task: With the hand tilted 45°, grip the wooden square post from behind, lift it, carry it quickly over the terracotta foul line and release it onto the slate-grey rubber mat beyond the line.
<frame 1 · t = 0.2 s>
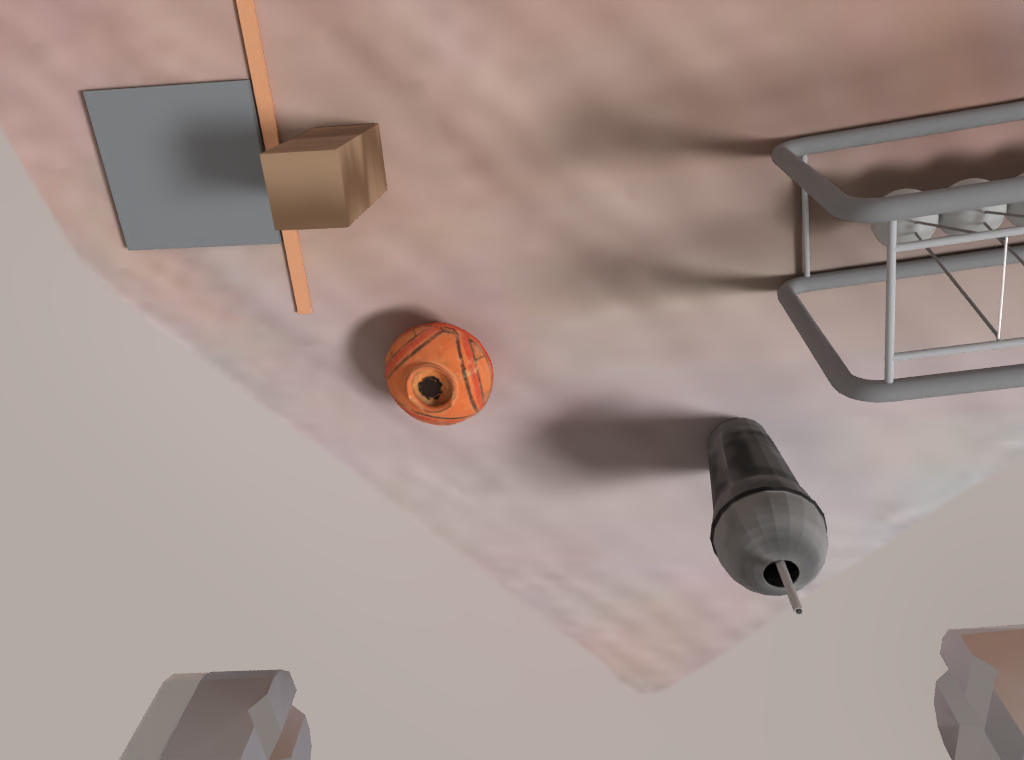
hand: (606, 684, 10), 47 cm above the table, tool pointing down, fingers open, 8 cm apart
newton's cradle: (1004, 183, 52), on the table
pot: (447, 355, 60), on the table
foul line: (277, 163, 55), on the table
beverage cup: (737, 442, 61), on the table
mat: (187, 168, 56), on the table
wooden square post: (351, 158, 54), on the table
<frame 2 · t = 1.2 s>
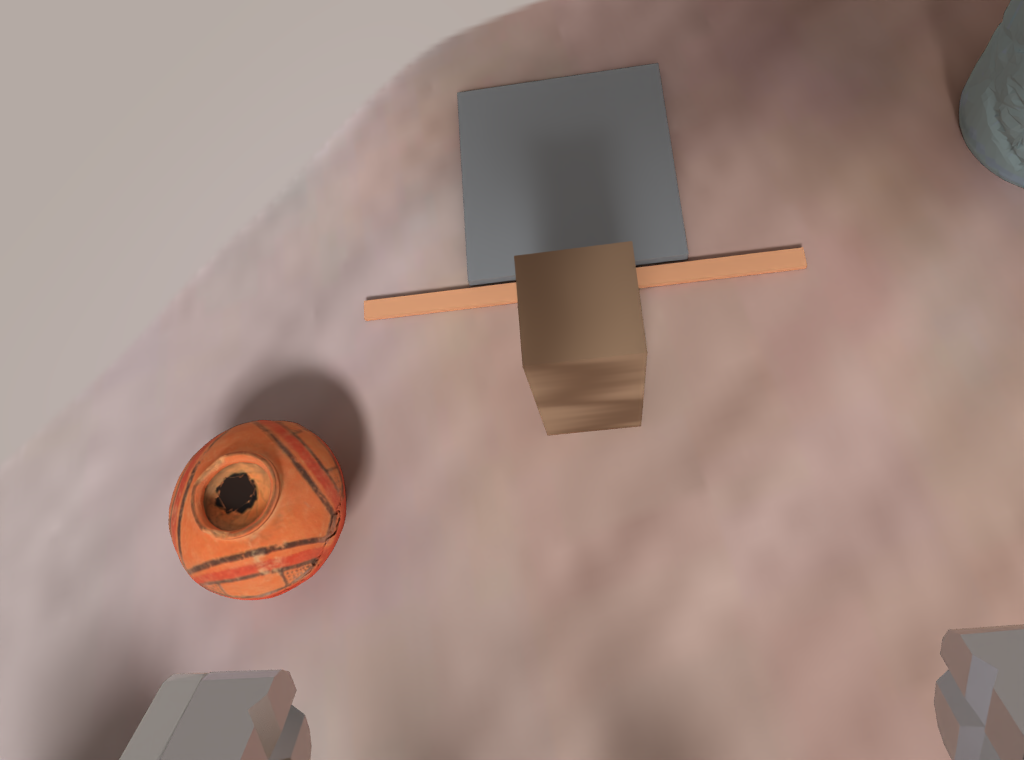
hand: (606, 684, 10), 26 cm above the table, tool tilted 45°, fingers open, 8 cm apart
pot: (289, 519, 38), on the table
foul line: (578, 286, 40), on the table
mat: (566, 174, 42), on the table
wooden square post: (589, 386, 38), on the table
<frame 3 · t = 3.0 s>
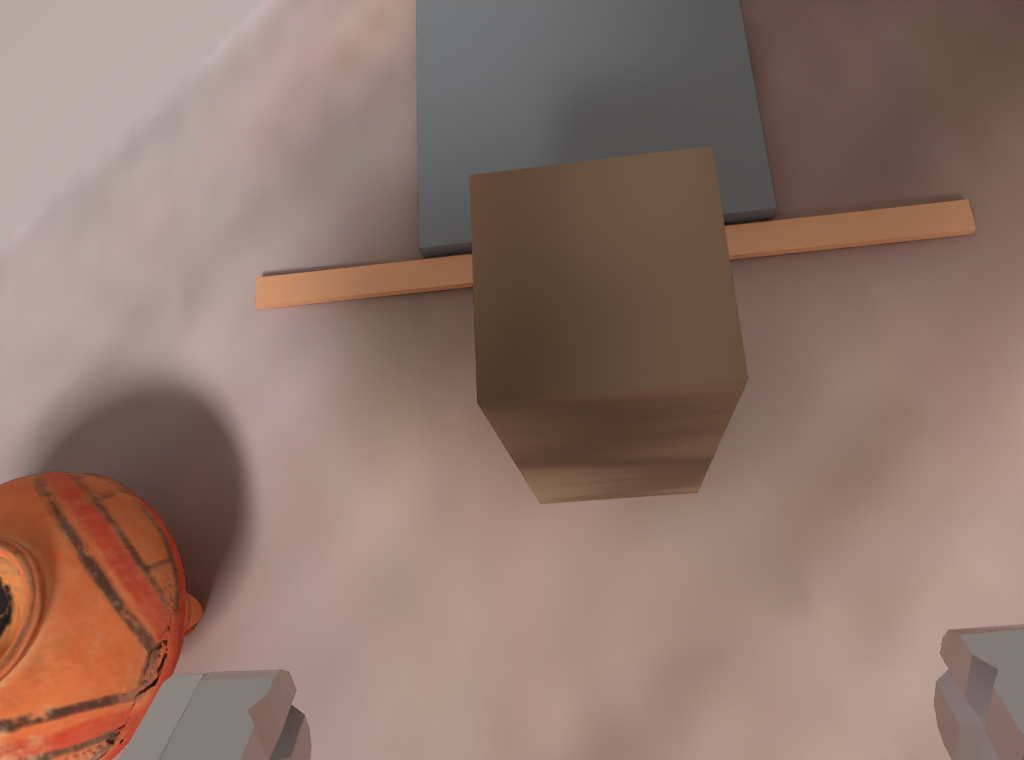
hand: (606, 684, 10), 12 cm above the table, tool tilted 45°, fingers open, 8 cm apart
pot: (116, 629, 23), on the table
foul line: (595, 259, 25), on the table
mat: (580, 87, 27), on the table
wooden square post: (611, 423, 23), on the table
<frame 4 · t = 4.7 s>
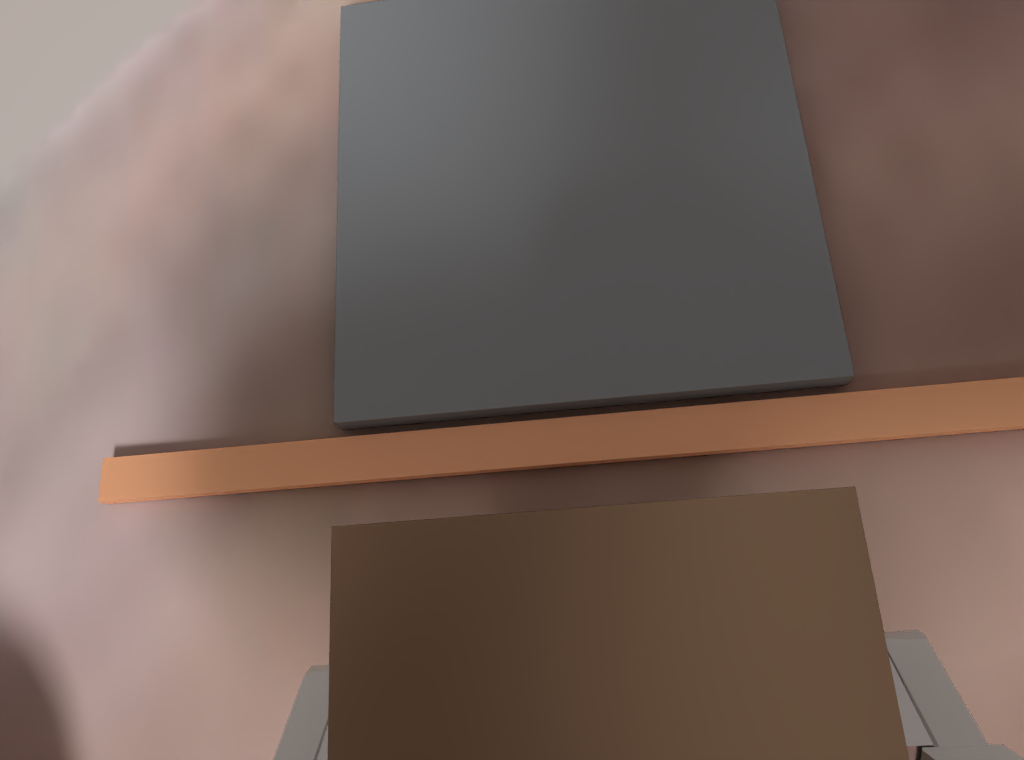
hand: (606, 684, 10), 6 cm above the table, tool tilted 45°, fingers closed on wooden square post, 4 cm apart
foul line: (589, 441, 17), on the table
mat: (565, 181, 19), on the table
wooden square post: (613, 706, 15), on the table, touching gripper
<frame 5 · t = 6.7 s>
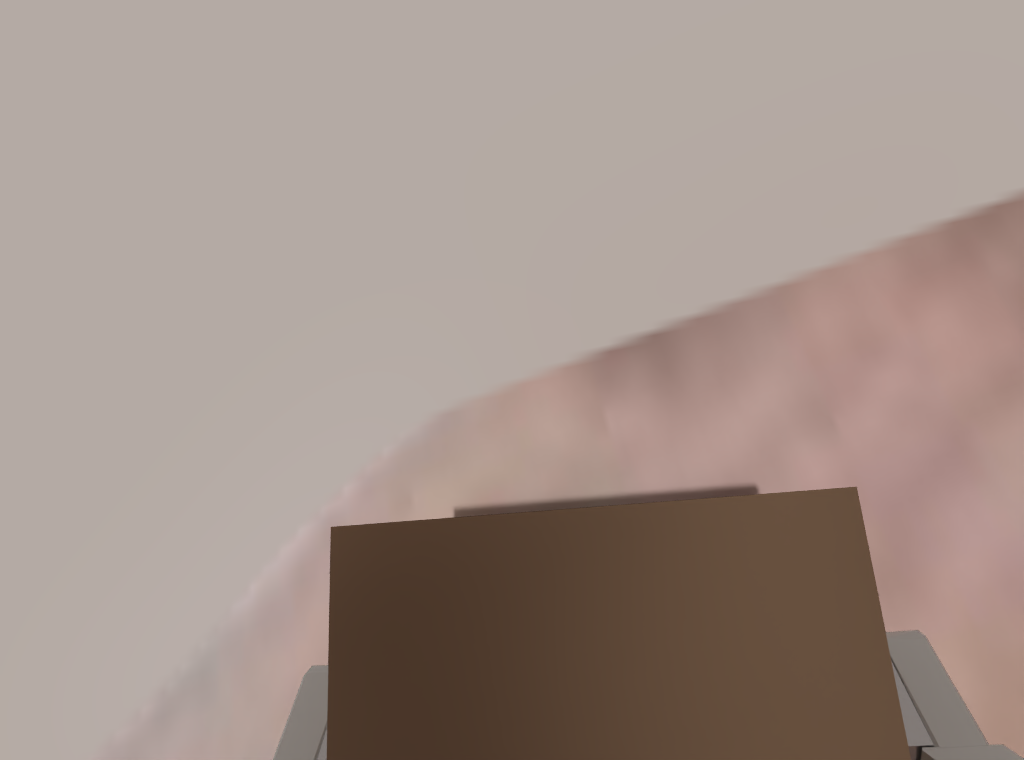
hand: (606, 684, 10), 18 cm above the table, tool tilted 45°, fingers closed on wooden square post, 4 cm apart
wooden square post: (613, 706, 15), point 12 cm above the table, touching gripper
when the fingers open (7 cm above the table, at t = 8.9 s): wooden square post stays where it is, resting on mat.
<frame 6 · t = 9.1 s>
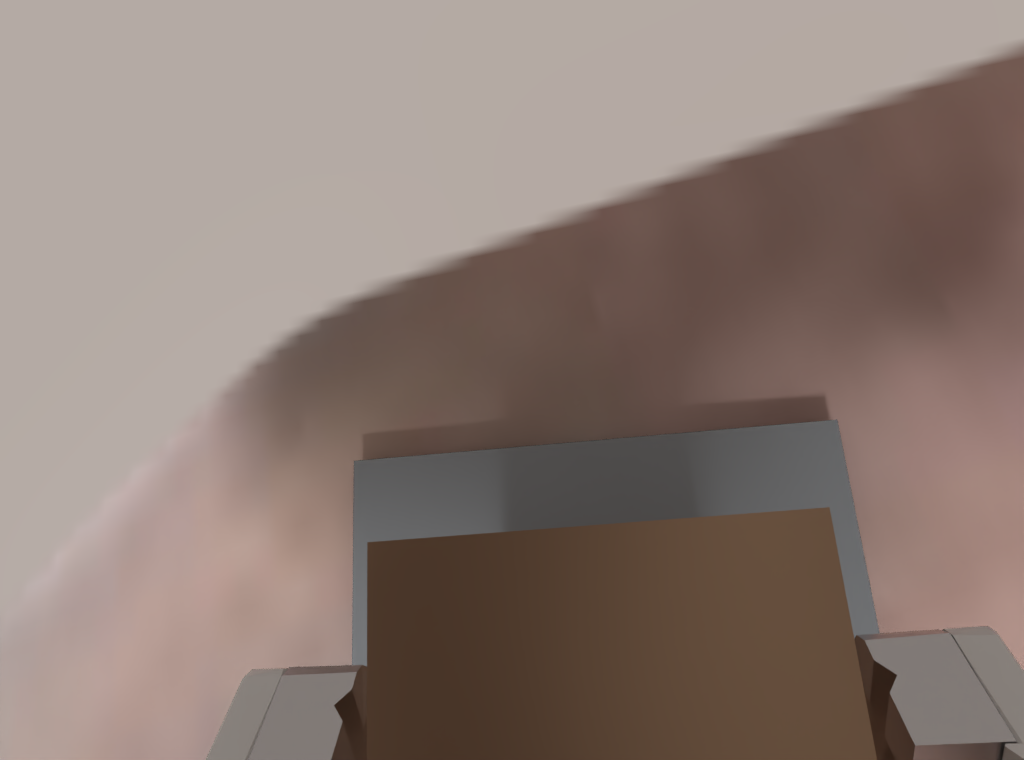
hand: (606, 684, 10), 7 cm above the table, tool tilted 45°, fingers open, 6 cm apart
mat: (613, 711, 17), on the table
wooden square post: (615, 703, 16), point 1 cm above the table, touching mat
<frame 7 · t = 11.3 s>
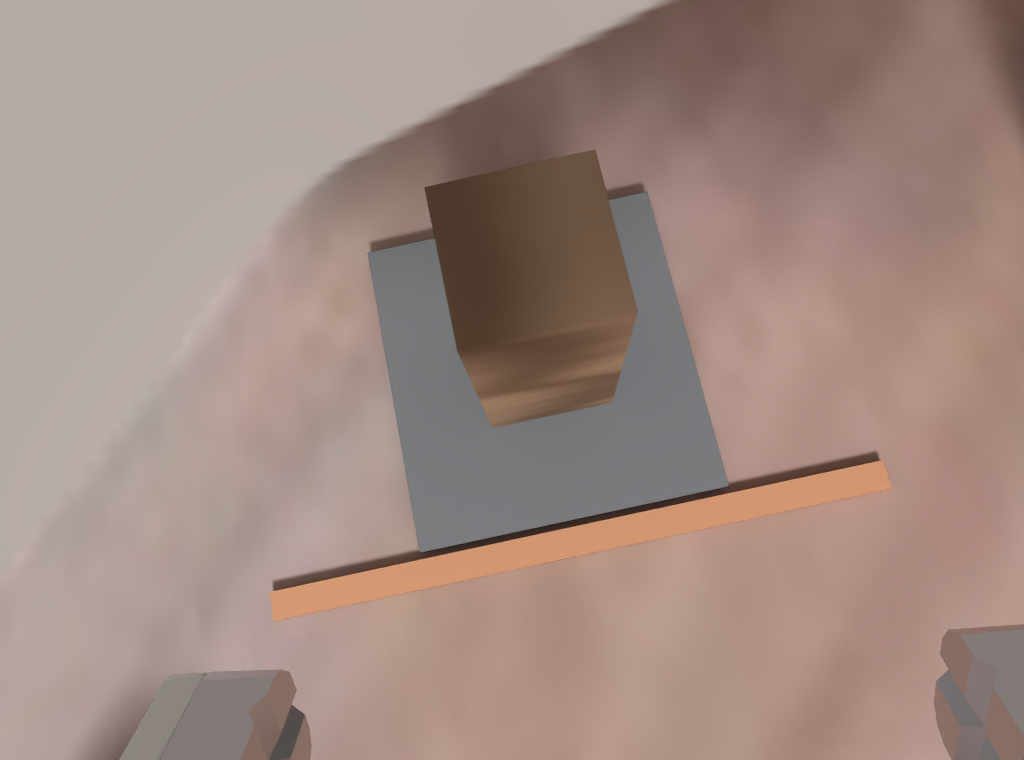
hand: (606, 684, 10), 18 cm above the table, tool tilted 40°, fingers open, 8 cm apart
foul line: (578, 540, 28), on the table
mat: (539, 367, 30), on the table
wooden square post: (539, 357, 29), point 1 cm above the table, touching mat
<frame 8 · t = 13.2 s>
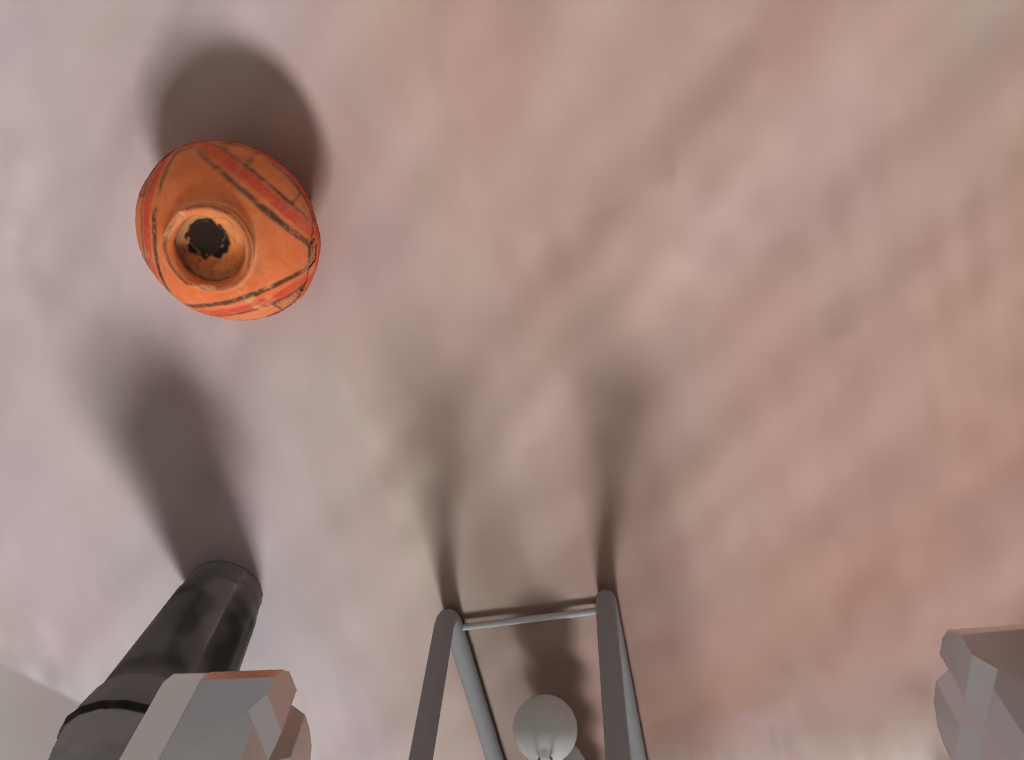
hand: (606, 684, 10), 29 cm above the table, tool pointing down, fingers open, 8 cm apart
newton's cradle: (566, 753, 53), on the table
pot: (256, 214, 38), on the table
beverage cup: (226, 588, 48), on the table
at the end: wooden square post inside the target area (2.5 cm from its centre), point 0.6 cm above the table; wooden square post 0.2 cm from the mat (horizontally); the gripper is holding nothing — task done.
